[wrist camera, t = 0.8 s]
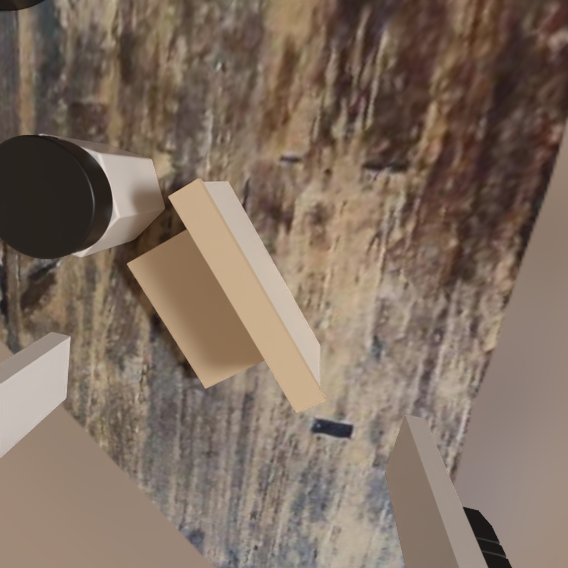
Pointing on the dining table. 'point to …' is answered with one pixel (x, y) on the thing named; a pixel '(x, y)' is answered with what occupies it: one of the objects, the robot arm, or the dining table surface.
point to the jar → (73, 196)
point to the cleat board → (228, 296)
